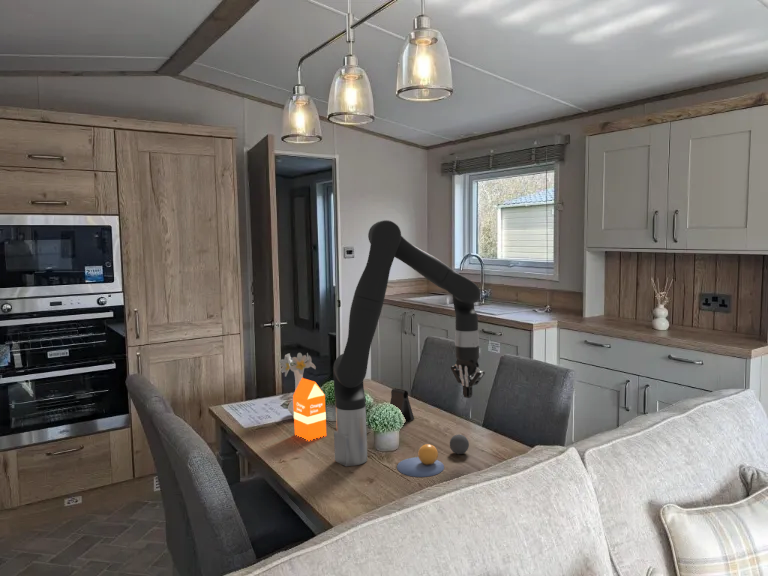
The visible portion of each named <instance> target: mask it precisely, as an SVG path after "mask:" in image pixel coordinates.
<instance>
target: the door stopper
mask: <svg viewBox="0 0 768 576" xmlns="http://www.w3.org/2000/svg"><path fill="white" fill-rule="evenodd" d="M390 395H391V398H390V401H389V405H390V404H393V405H395V406H396V407H398V408H399V409H400V410H401V412H402V414H403V415H404V417H405V419H406V422H407V423H409V422H411V420H412V421H414V420H415V417H414V413H413V409H412V407H411V402H410V400H409V392H408V390H405V389H401V388H396V387H395V388H392V389H391V392H390ZM413 419H414V420H413ZM408 421H409V422H408Z"/></svg>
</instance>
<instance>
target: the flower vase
mask: <svg viewBox="0 0 768 576" xmlns="http://www.w3.org/2000/svg"><path fill="white" fill-rule="evenodd" d="M312 361H313V360H312V356H311V355H309V353H308V352H307V353H306V354H302V353H301V352H298V353H297V355H296V356H293V357H291V352H290V353H287V354H285V355H284V358H282V359H280V360H279V364H280V365H279V367H280V372H281V373H282V374H283V373H284V377H286V378H287V375H288V373H289V372H290V371H291V372H293V374H294V380H295V381H294V384H295V385H294V387H295V388H294V389H295V390H294V392H295V391H296V389H297V387H298V385H299V383H300V381H301V379H302V378H304V371H305V369H310V368H312V369H314V370H316V368H317V367H316V365H315V364H314V363H313V362H312ZM287 410H288V412H289V413H290V415H291V416H292V418H294V404H293V399H292V400H291V401H290V402H289V404H288V406H287Z"/></svg>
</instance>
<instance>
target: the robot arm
mask: <svg viewBox="0 0 768 576" xmlns="http://www.w3.org/2000/svg"><path fill="white" fill-rule="evenodd" d="M367 235H368V242H369V243H370V246H369V247H370V248H369V253H368V258H367V263H366V265H365V267H364V270H363V271H362V274H361V276H360V278H359V279H358V280H359V281H358V282H357V285H356V287H355V291H354V295H353V298H352V300H351V301H352V302H351V305H350V310H349V316H348V317H349V319H348V333H347V334H348V335H347V340H346V345H345V347H344V351H343V353H342V354H340V355H338V356H337V357H336V359H335V360H334V363H333V367H332V369H333V391H334V392H333V393H334V399H335V401H334V402H335V419H336V420H335V423H336V425H335V427H336V430H334V431H333V441H334V443H333V445H334V461H335V462H337V463H338V464H340V465H342V466H345V467H350V466H359V465H363V464H365V463H366V462H367V461H368V438H367V437H368V436H367V408H366V394H365V387H364V379H366V376H367V370H368V363H369V357H370V351H371V346H372V343H373V340H374V336H375V333H376V331H377V327H378V323H379V320H380V317H381V313H382V309H383V306H384V302H385V298H386V293H387V288H388V285H389V284H388V282H389V277H390V272H391V268H392V265H393V262H394V259H395V258H396V259H397V260H398V261H399V260H400V262H402V263H404V264H406V265H407V266H409V267H410V268H411V269H413V270H414V271H415V272H416V273H418V274H419V275H421V276H422V277H424V279H427V280H428V281H429V282H431V283H432V284H433V285H435V286H436V287H438V288H440V289H441V290H444V291H446V292H448V293H449V294H451V295H452V301H453V302H452V303H453V307H454V308H453V309H454V314H455V332H454V334H455V335H454V351H455V352H454V355H455V356H454V357H455V359H456V361H455V364H454V365H451V366H450V369H451V371H452V373H453V376H454V378H455V379H456V381H457V383H458V384H461V387H462V395H463V398H466V399H470V398H472V397H473V386H478V384H479V383H480V381H481V380H482V378H484V377H483V376H485V373H486V372H485V370H481V369H480V364H479V361H478V360H479V359H480V335H479V334H480V333H479V317H478V314H477V312H476V310H475V303H477V302H478V301H479V300H480V297H481V291H480V288H479V286H478V285H477V283H475V282H473V280H471V279H469V278H467V277H466V276H465V275H462V274H460V273H458V272H457V271H455V270H454V269H453V268H452V267H450V266H449V265H447V264H446V263H444V262H443V261H442V260H440V259H438V258H437V257H436V256H434V255H432V254H430V253H428V252H427V251H424V250H422V249H420V248H419V247H417V246H415V245H414V244H413V243H411V242H410V241H408V240H407V238H404V236H402V231H401V229H400V227H399V225H398V224H397V223H396V222H395V221H392V220H387V219H386V220H385V219H384V220H380V221H377V222H376V223H374V224H372V225H371V227H370V228H369V230H368V234H367Z"/></svg>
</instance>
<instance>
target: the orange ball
mask: <svg viewBox="0 0 768 576" xmlns="http://www.w3.org/2000/svg"><path fill="white" fill-rule="evenodd" d="M417 457H419V460H420V461H421V462H422V463H423V464H426V465H431V464H433V463H434V462H435V461H436V460H438V457H439V452H438V450H437V448H436V446H434V445H433V444H429V443H426V444H423V445H422V446H420V448H419V449H418V451H417Z"/></svg>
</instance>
